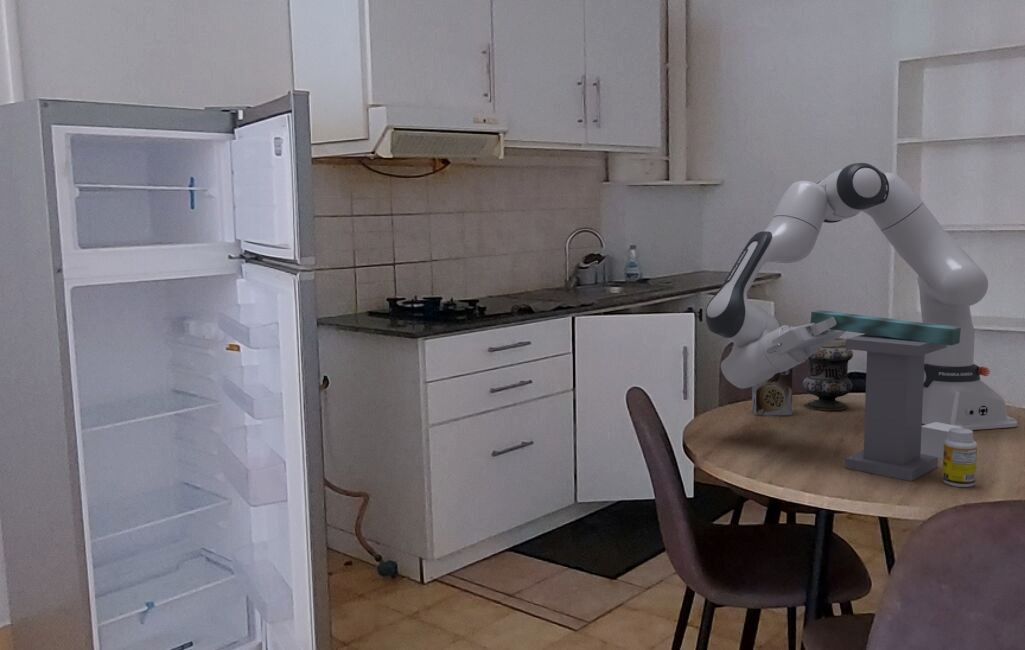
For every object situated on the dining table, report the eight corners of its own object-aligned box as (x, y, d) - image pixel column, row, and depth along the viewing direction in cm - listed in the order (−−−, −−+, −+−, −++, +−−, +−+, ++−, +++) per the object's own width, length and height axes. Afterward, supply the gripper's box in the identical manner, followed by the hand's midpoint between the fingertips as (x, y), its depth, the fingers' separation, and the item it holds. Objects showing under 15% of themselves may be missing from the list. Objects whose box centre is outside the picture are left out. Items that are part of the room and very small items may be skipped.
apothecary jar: (859, 406, 237) (862, 337, 235) (838, 414, 229) (840, 342, 226) (815, 399, 246) (817, 333, 243) (793, 407, 237) (795, 338, 235)
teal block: (810, 326, 190) (811, 311, 189) (819, 324, 192) (820, 310, 192) (951, 345, 170) (953, 329, 170) (959, 343, 173) (960, 327, 172)
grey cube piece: (946, 460, 187) (947, 431, 187) (918, 454, 192) (920, 426, 192) (962, 455, 191) (963, 427, 190) (934, 449, 196) (936, 421, 195)
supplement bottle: (944, 477, 176) (946, 425, 174) (976, 481, 173) (979, 428, 171) (940, 485, 171) (942, 431, 169) (973, 489, 168) (976, 435, 167)
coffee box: (787, 410, 234) (788, 347, 232) (792, 416, 228) (794, 351, 225) (750, 410, 235) (751, 347, 233) (754, 415, 228) (756, 351, 226)
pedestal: (841, 468, 183) (845, 338, 179) (871, 454, 192) (876, 331, 189) (913, 482, 173) (918, 345, 169) (941, 466, 183) (947, 337, 179)
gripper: (755, 339, 189) (810, 310, 180) (803, 328, 204) (856, 300, 194) (769, 367, 188) (825, 339, 179) (816, 354, 202) (870, 327, 193)
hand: (842, 318), depth 187 cm, fingers closed on teal block, 4 cm apart
